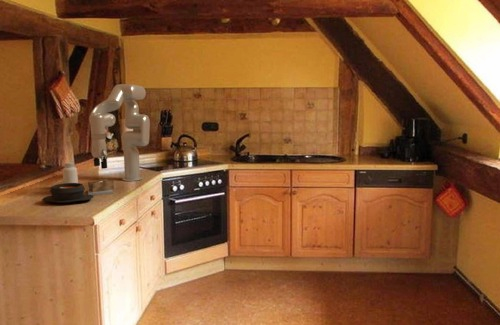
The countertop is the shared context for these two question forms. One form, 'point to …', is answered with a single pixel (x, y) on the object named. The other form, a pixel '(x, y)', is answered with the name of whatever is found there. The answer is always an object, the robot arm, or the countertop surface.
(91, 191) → the base
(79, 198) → the black low round piece
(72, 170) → the pill bottle
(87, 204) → the countertop surface
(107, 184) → the wooden h-shaped stand
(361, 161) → the countertop surface
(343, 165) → the countertop surface
